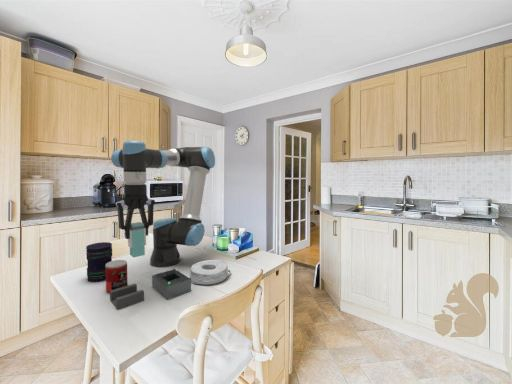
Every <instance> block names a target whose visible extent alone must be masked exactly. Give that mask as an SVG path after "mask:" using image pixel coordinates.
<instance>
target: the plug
mask: <svg viewBox="0 0 512 384" xmlns="http://www.w3.org/2000/svg"><path fill="white" fill-rule="evenodd" d="M130 229H131V230H132V242H133V248H130V247H129V255H130V256H131V257H132V258H137V257H142V256H143V257H144V256H145V255H146V253H145V252H146V251H145V249H146V248H145V246H146V245H145V242H144V224H143V223H142V221H138V222H133V223H132V222H131V226H130Z"/></svg>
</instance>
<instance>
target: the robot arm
mask: <svg viewBox="0 0 512 384" xmlns="http://www.w3.org/2000/svg"><path fill="white" fill-rule="evenodd" d="M110 158H111V159H110V160H111V162H112V164H113V166H114V167H115V168H120V169H123V183H124V185H123V197H122V200H120V201H116V202H115V204H114V205H115V206H116V208H117V209H116V210H117V220H118V228H119V229H120V230H123V231H124V238H125V239H126V240H127V246H128V247H129V249H130V248H133V242H132V230H131V229H130V226H131V223H132V222H133V221H132V220H133V215H134V212H135V210H137V209H138V210H139V215H140V218H141V223H143V224H144V242H145V246H147V236H149V228H150V227H151V226H152V227H153V229H152V236H153V238H152V241H153V243H152V244H153V249H152V253H151V255H150V258H149V261H150V262H149V264H150V266H152V267H156V268H157V267H158V268H163V267H171V266H175V265H177V264H179V263H180V261H181V254H180V253H179V250H178V245H180V246H187V247H195V246H198V245H199V244H200V243H201V242H202V240H203V238H204V235H205V231H206V230H205V225H204V224H203V223H202V222H203V221H202V219H201V217H200V216H201V209H202V203H203V198H204V191H205V185H206V178H207V177H206V176H207V175H208V174H209V173H210V172H211V169H213V168H214V167H215V165H216V156H215V153H214V150H213V149H212V148H211V147H209V146H183V147H177V148H169V149H166V150H164V149H163V150H159V149H154V148H153V149H152V148H147V147H146V142H143V141H139V140H127V141H126V140H125V141H124V142H123V144H122V149H116V150H114V151H113V152H112V154H111V157H110ZM166 166H169V167H179V168H187V169H188V171H189V178H188V184H187V189H186V194H185V200H184V206H183V211H182V212H183V213H182V215H181V216H179V218H178V220H177V218H175V217H170V218H163V219H158V220H155V221H154V205H155V204H156V201H155V200H154V199H150V198H149V197H148V191H147V190H148V188H147V169H163V168H164V167H166ZM146 203H147V214H146V208H145V205H146ZM124 204H125V205H124ZM124 206H126V207H127V208H126V209H127V212H126V217H125V216H124V215H125V214H124Z"/></svg>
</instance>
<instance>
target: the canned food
mask: <svg viewBox="0 0 512 384" xmlns="http://www.w3.org/2000/svg"><path fill="white" fill-rule="evenodd" d="M105 273H106V280H105V290H106V292H107V293H108V294H110V291H112V290H115V289H118V288H122V287H125V286H128V282H129V281H128V262H127V260H124V259H116V260H112V261H110V262H108V263H106V266H105Z"/></svg>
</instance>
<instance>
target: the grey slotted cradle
mask: <svg viewBox="0 0 512 384" xmlns="http://www.w3.org/2000/svg"><path fill="white" fill-rule="evenodd" d="M109 300H110V302H111V303H112V304H113V306H114V307H115V309H116V310H118V311H119V310H122V309H123V308H126V307H130V306H132V305H135V304H138V303H141V302H144V301H145V291H144V290H143V289H140V290H138V285H137V284H136V283H133V284H129V285H128V286H125V287H122V288H118V289H115V290H112V291H110V293H109Z"/></svg>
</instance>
